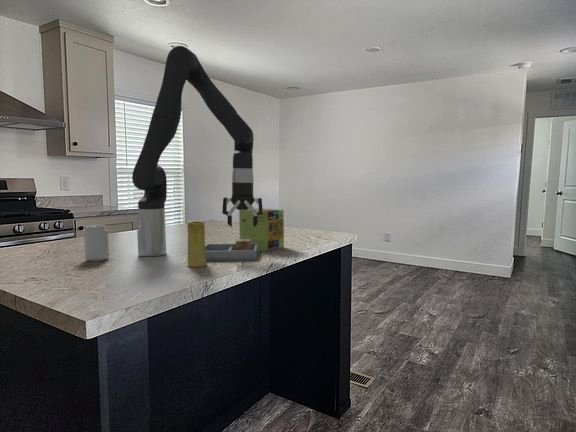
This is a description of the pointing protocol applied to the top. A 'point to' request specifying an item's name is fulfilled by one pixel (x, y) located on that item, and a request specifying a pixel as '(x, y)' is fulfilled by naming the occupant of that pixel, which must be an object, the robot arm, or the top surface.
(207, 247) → the tray
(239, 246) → the walnut cube
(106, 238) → the can
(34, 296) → the top surface
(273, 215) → the protein box
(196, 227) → the vase
